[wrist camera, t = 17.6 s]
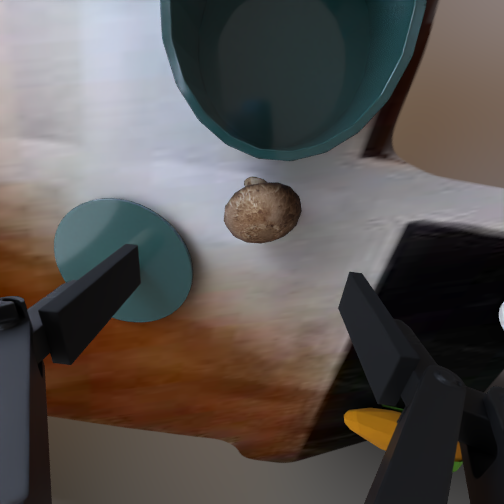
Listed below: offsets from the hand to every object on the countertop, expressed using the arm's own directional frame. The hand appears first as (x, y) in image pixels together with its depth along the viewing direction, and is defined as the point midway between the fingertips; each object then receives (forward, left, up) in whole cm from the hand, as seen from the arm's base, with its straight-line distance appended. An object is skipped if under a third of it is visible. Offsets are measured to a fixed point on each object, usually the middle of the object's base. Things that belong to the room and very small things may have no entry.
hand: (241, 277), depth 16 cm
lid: (+9, -15, -14) cm, 23 cm away
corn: (+32, +26, -15) cm, 44 cm away
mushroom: (-1, +1, -15) cm, 15 cm away
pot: (-15, +1, -15) cm, 21 cm away
